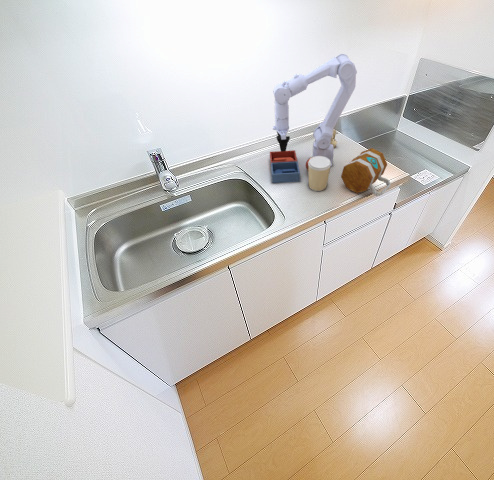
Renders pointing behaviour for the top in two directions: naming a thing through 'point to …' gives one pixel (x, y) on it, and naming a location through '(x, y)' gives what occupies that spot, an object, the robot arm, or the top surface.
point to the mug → (365, 172)
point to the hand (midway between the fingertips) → (282, 146)
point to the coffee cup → (318, 172)
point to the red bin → (283, 156)
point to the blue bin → (285, 176)
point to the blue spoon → (284, 171)
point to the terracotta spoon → (283, 159)
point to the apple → (307, 164)
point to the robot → (334, 139)
